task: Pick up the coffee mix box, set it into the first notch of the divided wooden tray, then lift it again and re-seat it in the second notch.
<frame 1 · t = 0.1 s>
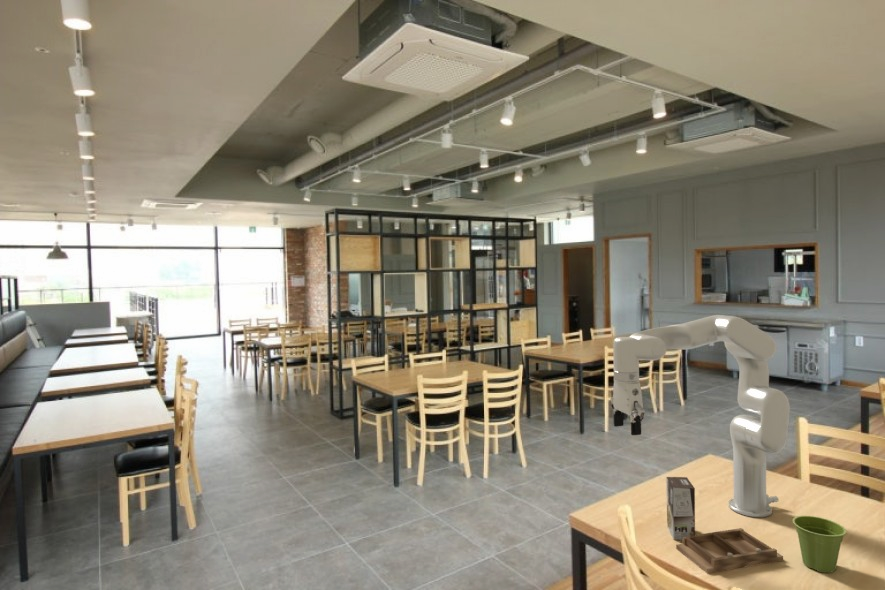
hand: (627, 430, 166), 31 cm above the table, tool pointing down, fingers open, 9 cm apart
coffee box: (680, 533, 162), on the table
plant pot: (818, 566, 143), on the table
divided wooden tray: (728, 554, 150), on the table
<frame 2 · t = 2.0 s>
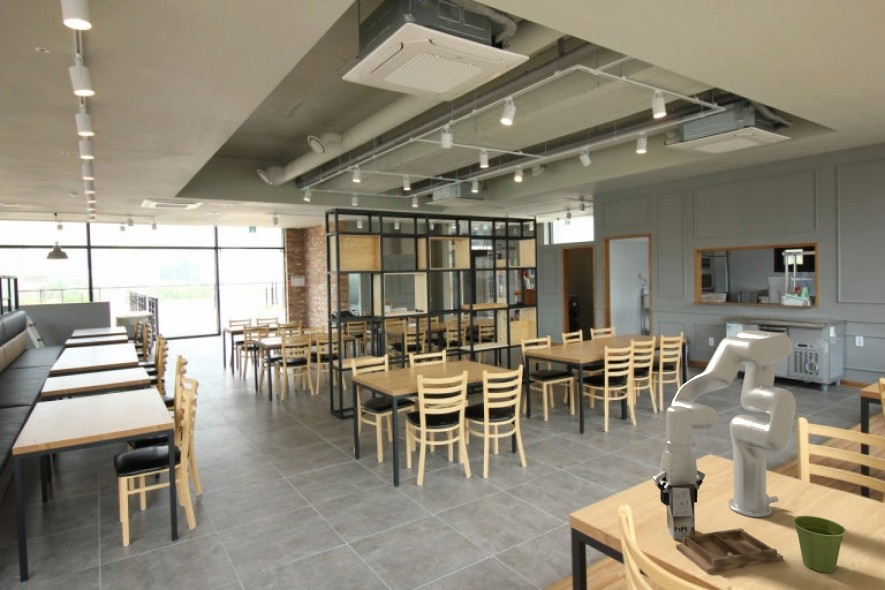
hand: (678, 502, 162), 10 cm above the table, tool pointing down, fingers open, 9 cm apart
nothing on the table moved.
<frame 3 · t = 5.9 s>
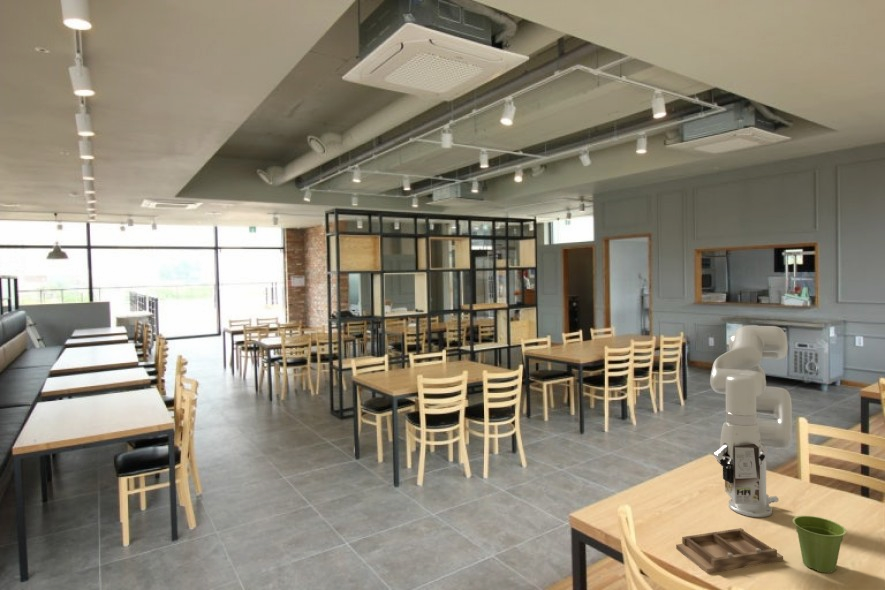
hand: (741, 479, 150), 21 cm above the table, tool pointing down, fingers closed on coffee box, 8 cm apart
coffee box: (741, 498, 150), point 16 cm above the table, touching gripper
everything else where it was.
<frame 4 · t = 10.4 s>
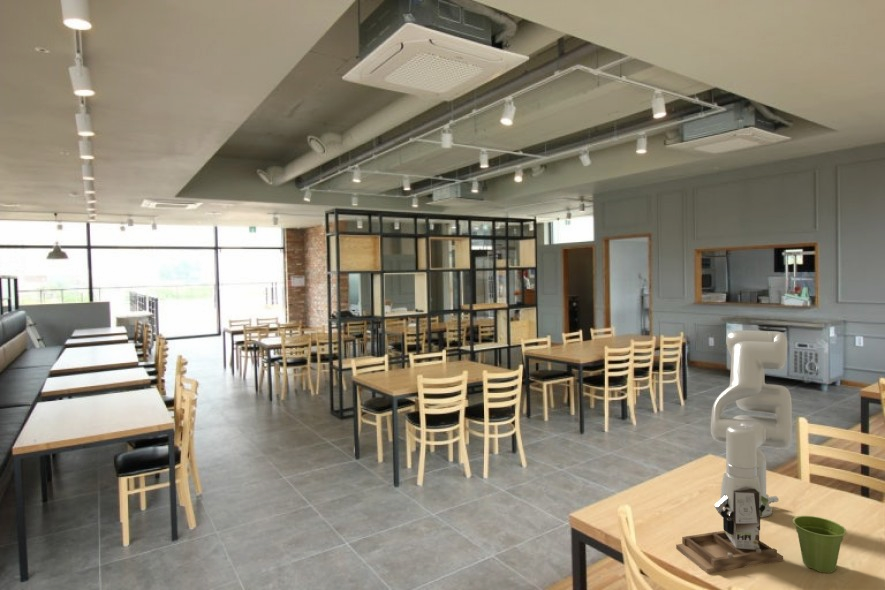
hand: (741, 530, 150), 6 cm above the table, tool pointing down, fingers closed on coffee box, 8 cm apart
coffee box: (742, 542, 150), point 3 cm above the table, touching gripper, divided wooden tray
everything else where it was.
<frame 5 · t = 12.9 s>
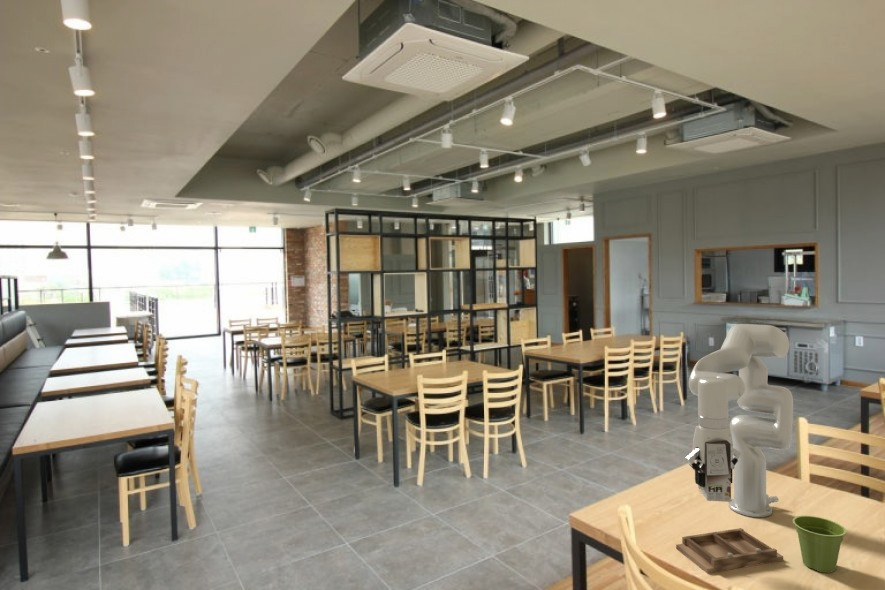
hand: (713, 483, 148), 21 cm above the table, tool pointing down, fingers closed on coffee box, 8 cm apart
coffee box: (714, 495, 148), point 18 cm above the table, touching gripper
everything else where it was.
when the fingers open (8 cm above the table, at t = 15.8 s): coffee box drops 1 cm, resting on divided wooden tray.
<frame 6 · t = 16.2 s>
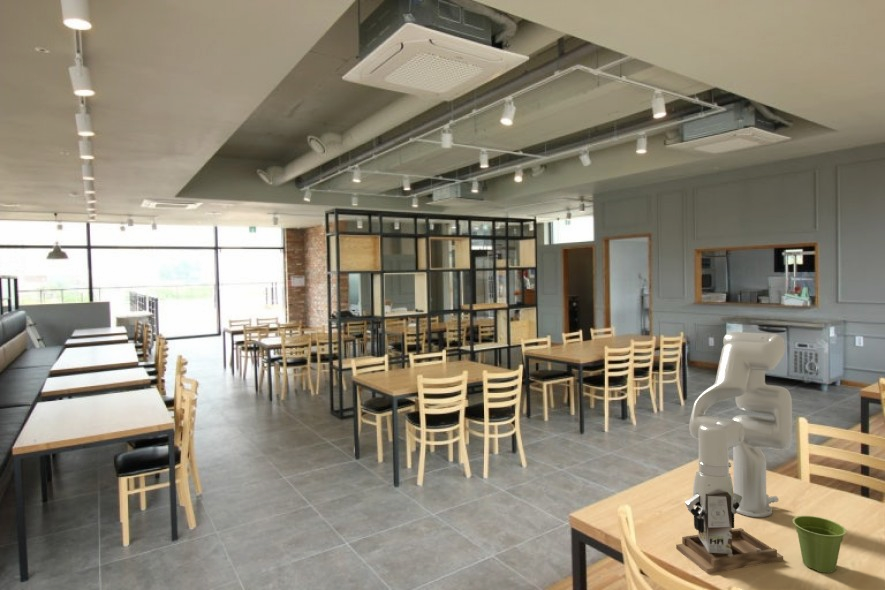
hand: (714, 528, 148), 8 cm above the table, tool pointing down, fingers open, 9 cm apart
coffee box: (714, 546, 149), point 3 cm above the table, touching divided wooden tray
everything else where it was.
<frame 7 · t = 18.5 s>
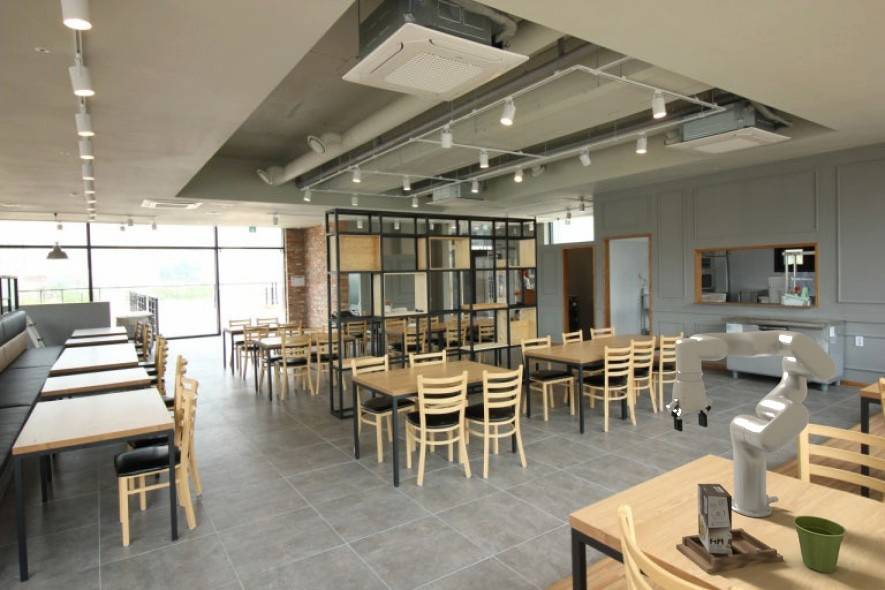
hand: (690, 428, 172), 29 cm above the table, tool pointing down, fingers open, 9 cm apart
nothing on the table moved.
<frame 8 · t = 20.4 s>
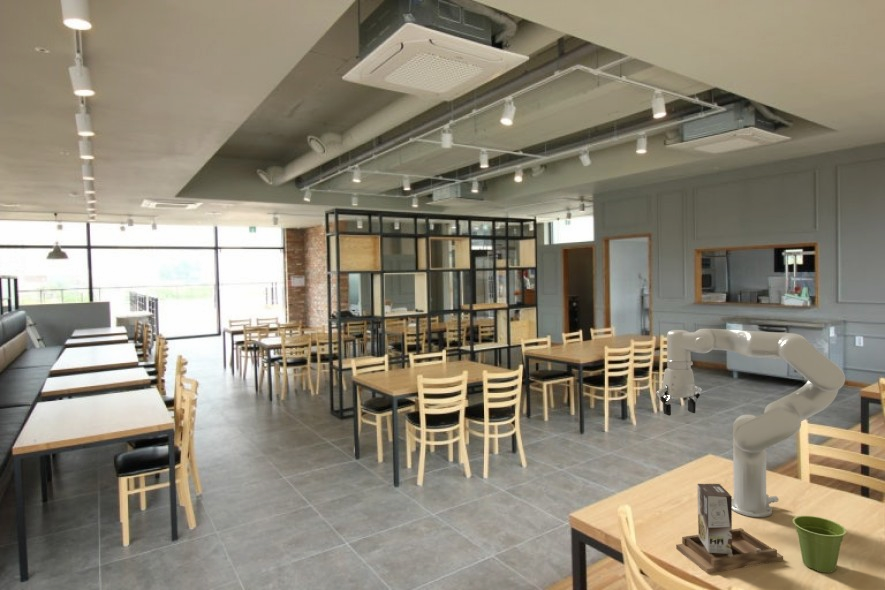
hand: (679, 413, 186), 30 cm above the table, tool pointing down, fingers open, 9 cm apart
nothing on the table moved.
at the end: coffee box 0.2 cm from the target spot on the divided wooden tray, point 3.0 cm above the divided wooden tray's base; coffee box tilted 0°; the gripper is holding nothing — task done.
